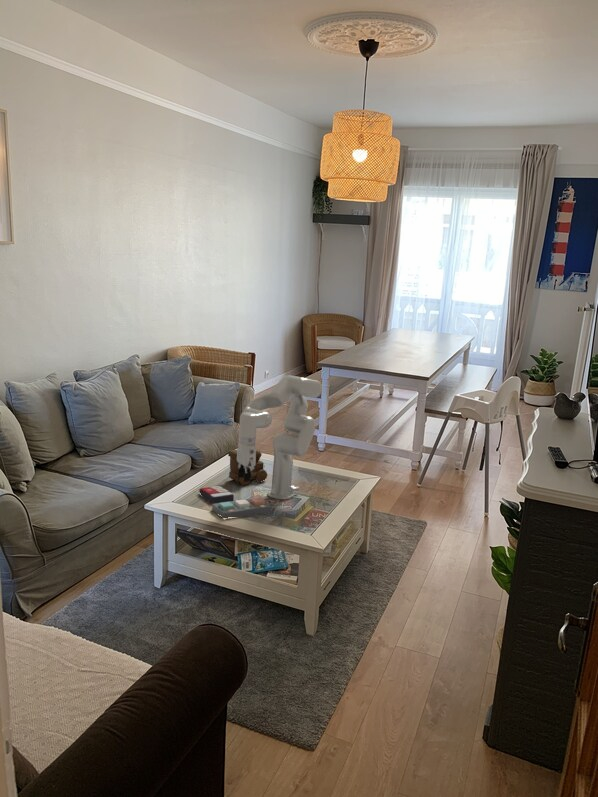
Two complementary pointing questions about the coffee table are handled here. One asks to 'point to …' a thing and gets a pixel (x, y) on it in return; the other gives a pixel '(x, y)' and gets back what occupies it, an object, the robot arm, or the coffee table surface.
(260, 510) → the dark grey flat block
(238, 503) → the cream key
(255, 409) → the robot arm
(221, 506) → the teal key
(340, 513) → the coffee table surface
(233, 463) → the wooden toy train
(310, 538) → the coffee table surface
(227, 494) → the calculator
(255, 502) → the terracotta key
